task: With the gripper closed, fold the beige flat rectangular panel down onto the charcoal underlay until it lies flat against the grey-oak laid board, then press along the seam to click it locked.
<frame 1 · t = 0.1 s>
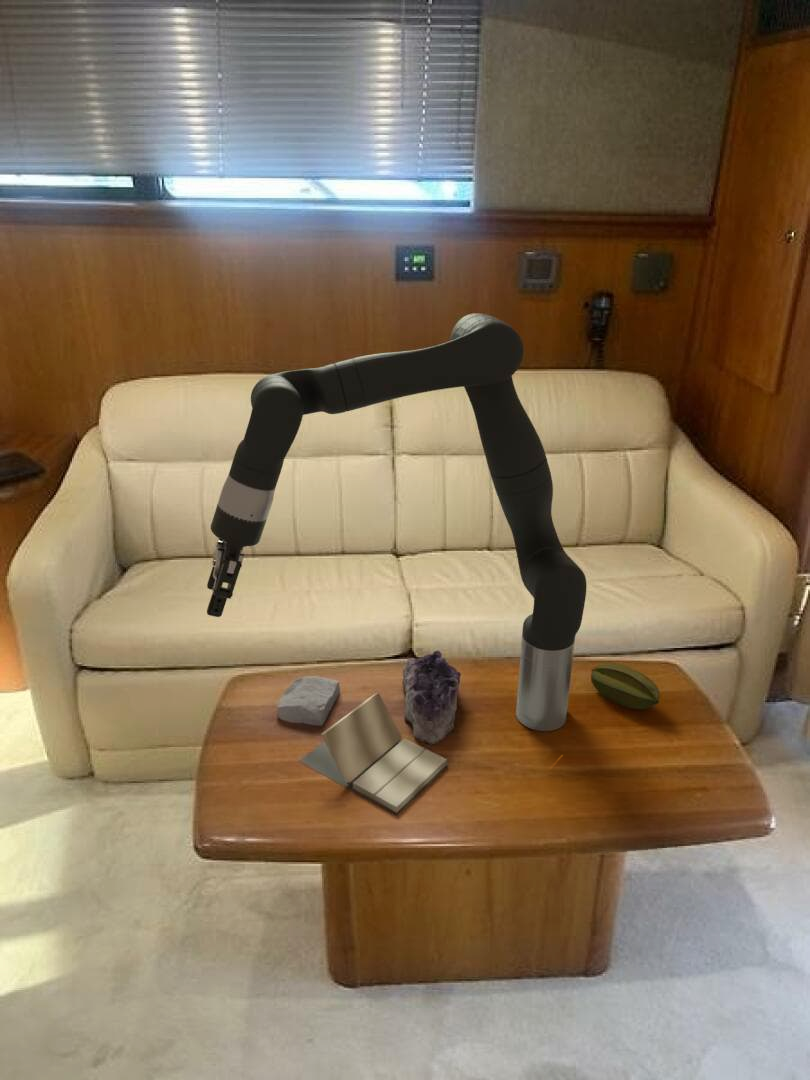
hand: (213, 601, 122), 31 cm above the table, tool tilted 20°, fingers open, 8 cm apart
fruit: (621, 701, 151), on the table
geode: (432, 713, 148), on the table
stone block: (307, 707, 149), on the table
laid floor: (400, 777, 131), on the table
beige flat rectangular panel: (363, 736, 134), point 5 cm above the table, hinge at 55.0°
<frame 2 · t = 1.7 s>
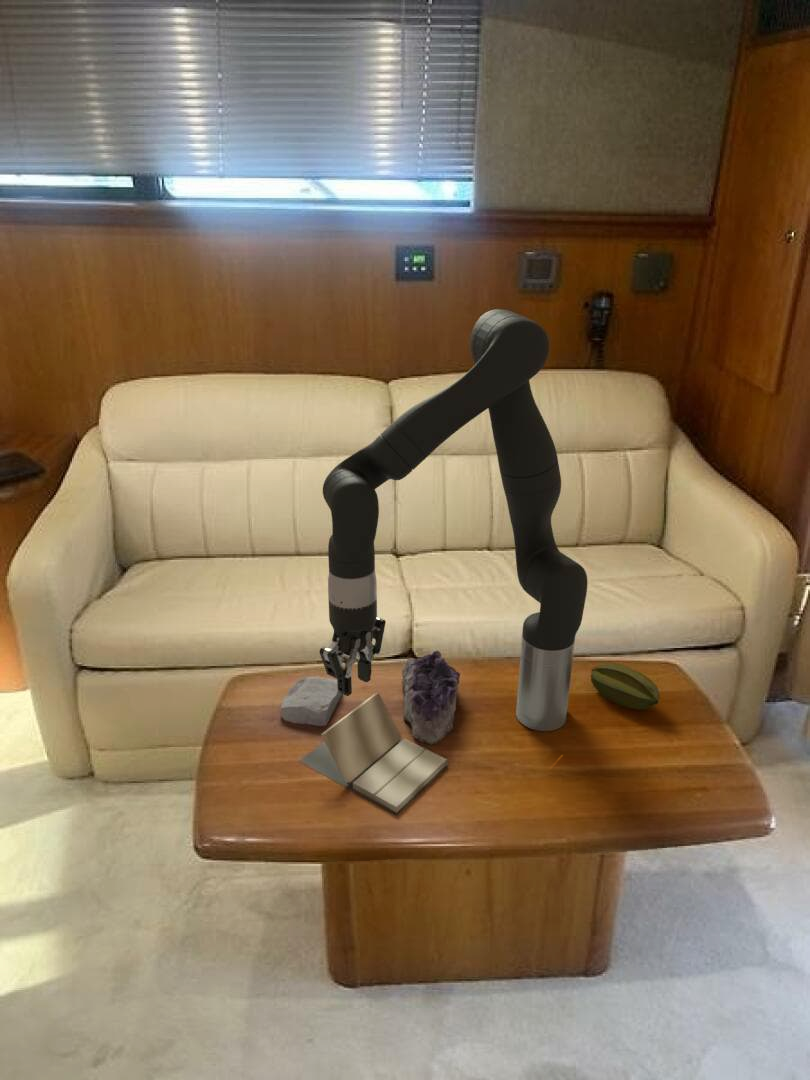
hand: (355, 686, 129), 15 cm above the table, tool pointing down, fingers open, 4 cm apart
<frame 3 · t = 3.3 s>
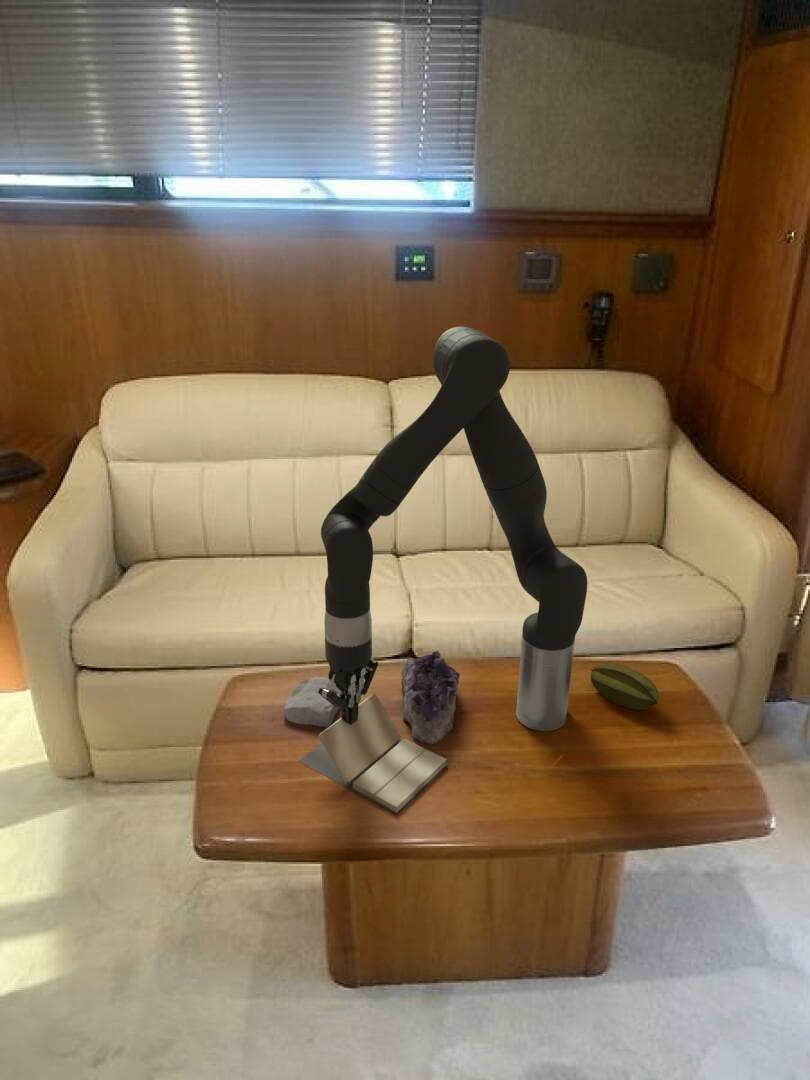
hand: (350, 720, 132), 8 cm above the table, tool pointing down, fingers closed
beige flat rectangular panel: (361, 737, 134), point 4 cm above the table, hinge at 49.0°, touching gripper
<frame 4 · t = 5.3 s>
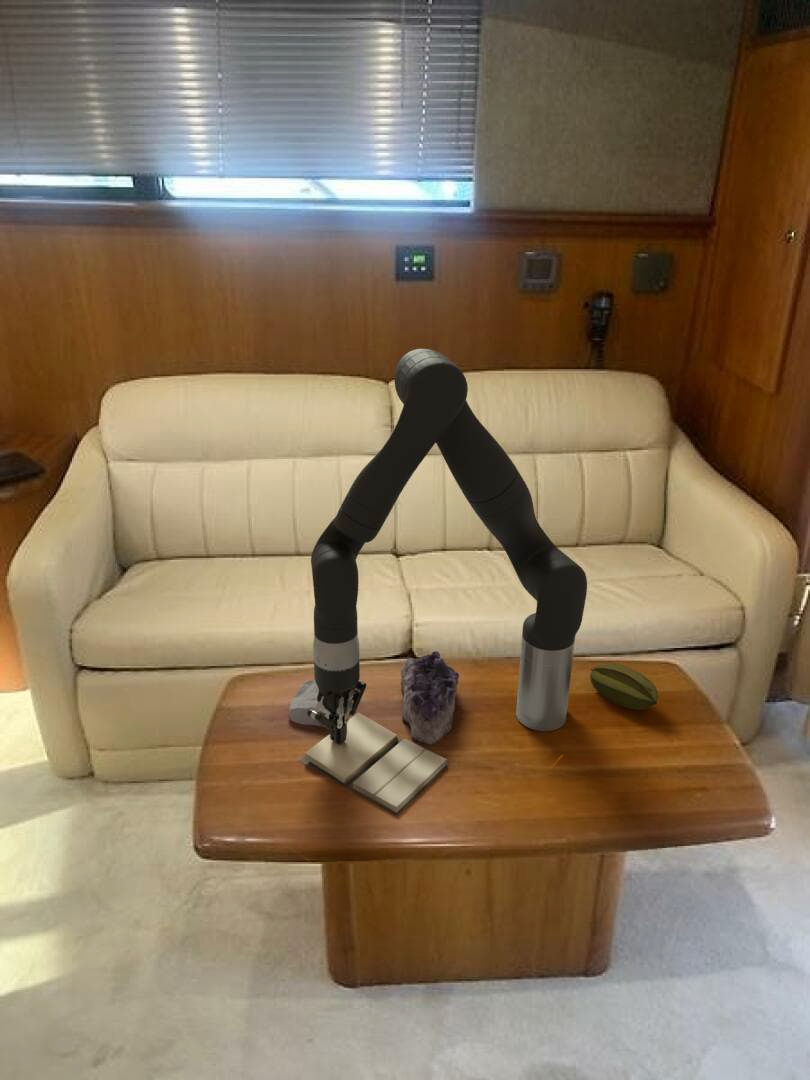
hand: (338, 740, 136), 2 cm above the table, tool pointing down, fingers closed
beige flat rectangular panel: (352, 746, 136), point 1 cm above the table, hinge at 4.8°
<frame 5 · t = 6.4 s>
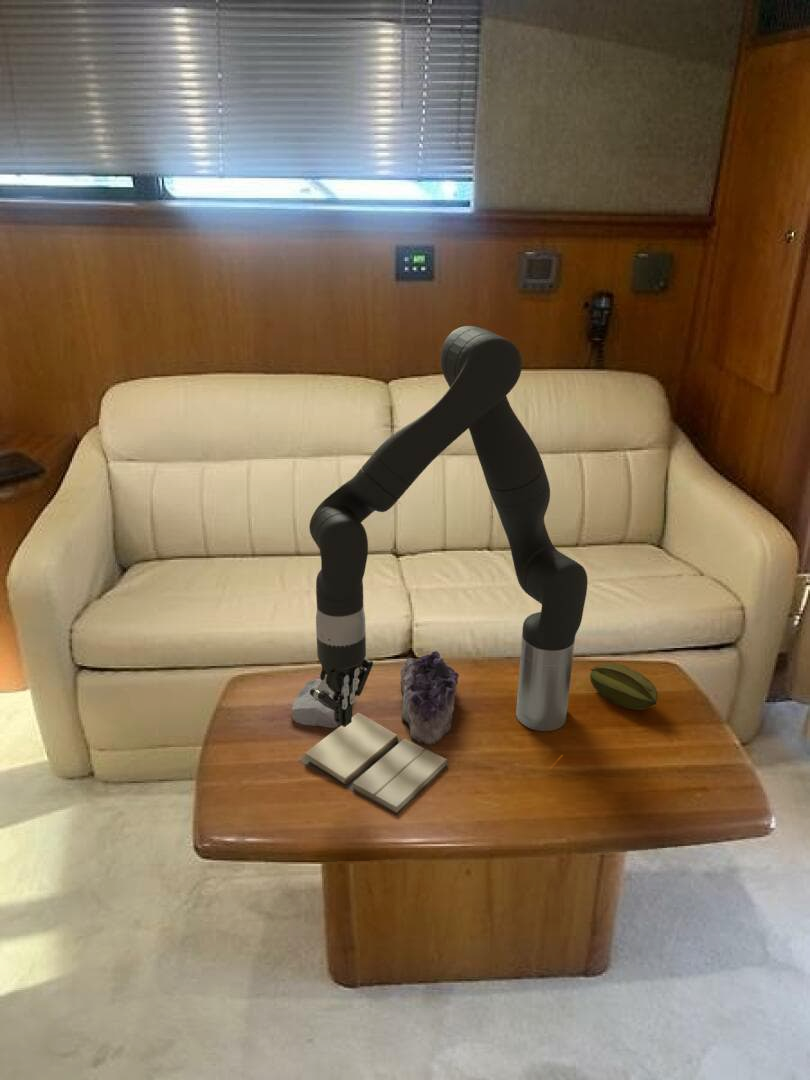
hand: (343, 722, 127), 11 cm above the table, tool pointing down, fingers closed
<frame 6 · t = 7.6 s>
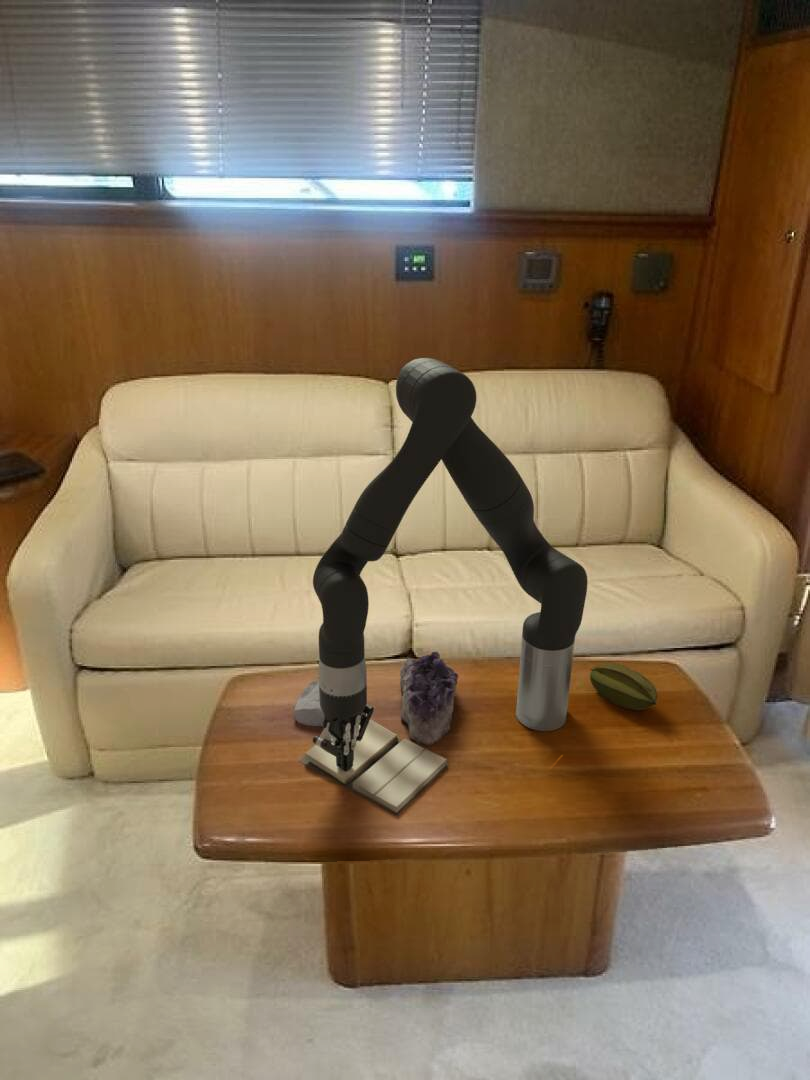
hand: (345, 767, 131), 2 cm above the table, tool pointing down, fingers closed
beige flat rectangular panel: (352, 746, 136), point 1 cm above the table, hinge at 4.8°, touching gripper
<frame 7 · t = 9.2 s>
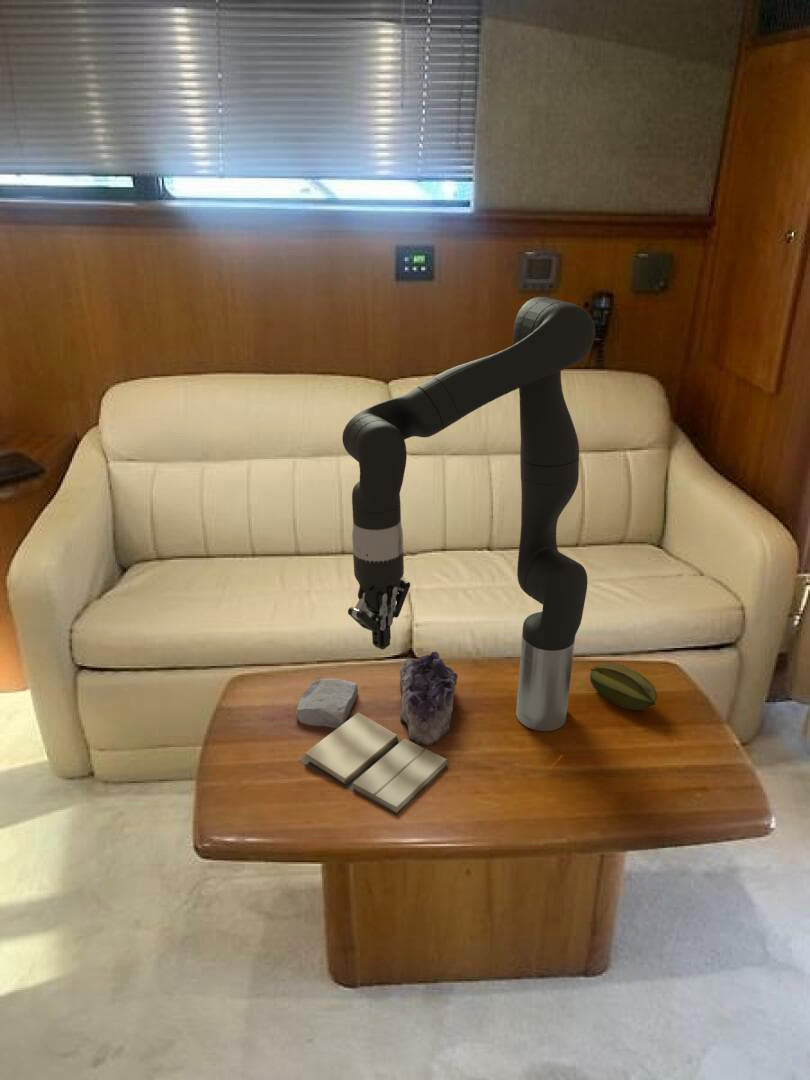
hand: (382, 645, 124), 24 cm above the table, tool pointing down, fingers closed
beige flat rectangular panel: (352, 746, 136), point 1 cm above the table, hinge at 4.8°
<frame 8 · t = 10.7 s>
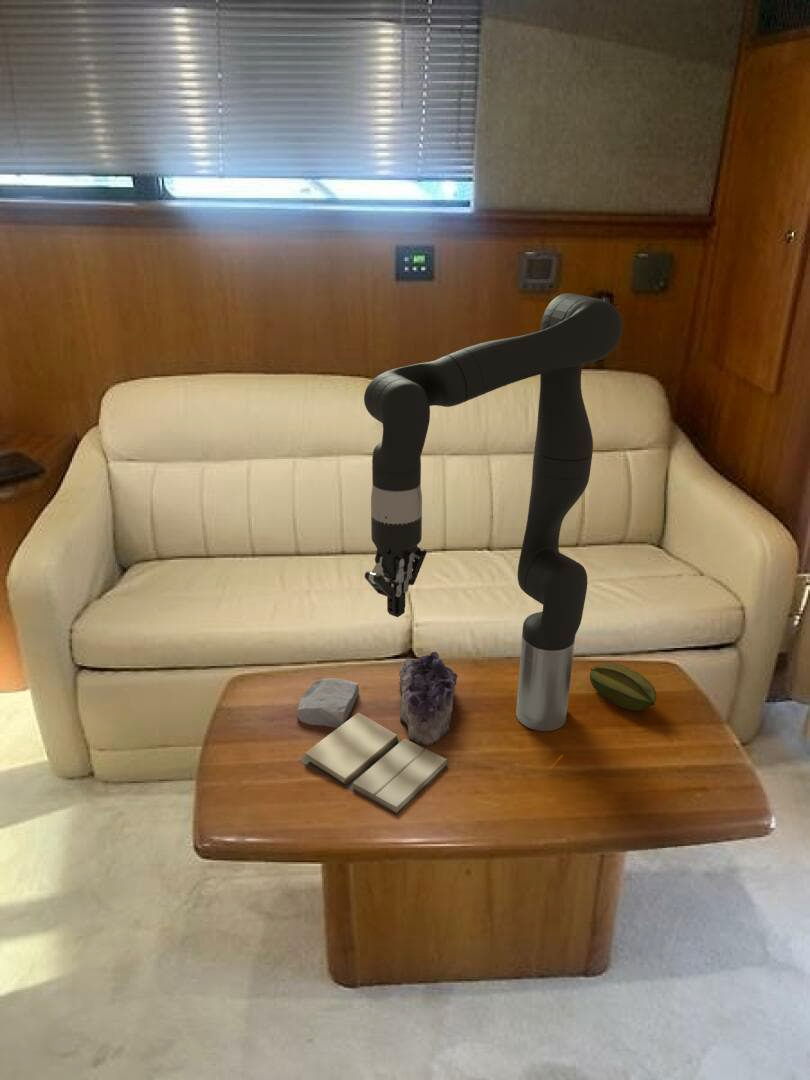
hand: (396, 613, 123), 29 cm above the table, tool pointing down, fingers closed
at the end: beige flat rectangular panel at +5° (first picture: +55°); the gripper is holding nothing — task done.
